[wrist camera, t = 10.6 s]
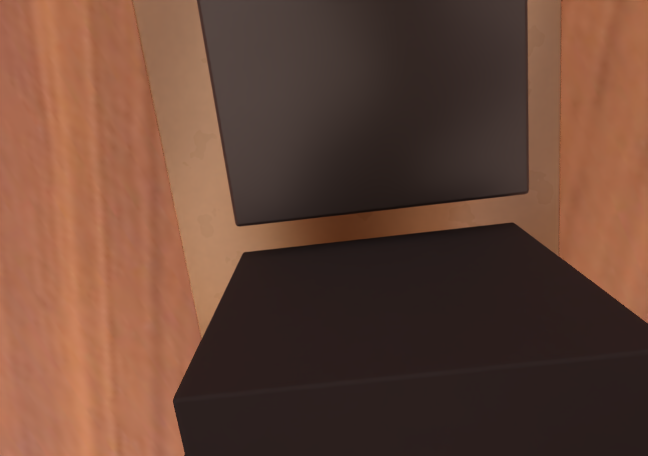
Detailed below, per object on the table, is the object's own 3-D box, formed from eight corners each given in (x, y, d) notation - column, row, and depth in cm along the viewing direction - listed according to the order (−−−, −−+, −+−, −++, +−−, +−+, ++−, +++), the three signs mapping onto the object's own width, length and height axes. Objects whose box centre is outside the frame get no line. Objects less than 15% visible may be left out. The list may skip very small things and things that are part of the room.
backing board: (545, -134, 14) (720, -305, 8) (544, 365, 19) (657, 513, 12) (129, -77, 15) (-21, -196, 8) (223, 397, 19) (172, 556, 13)
